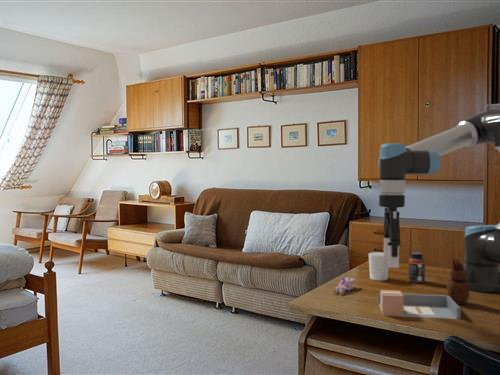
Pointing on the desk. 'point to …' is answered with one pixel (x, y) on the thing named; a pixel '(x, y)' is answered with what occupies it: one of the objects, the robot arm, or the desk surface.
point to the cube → (391, 302)
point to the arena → (428, 306)
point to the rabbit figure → (344, 286)
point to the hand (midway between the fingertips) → (390, 262)
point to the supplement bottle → (416, 268)
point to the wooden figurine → (458, 284)
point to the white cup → (378, 266)
